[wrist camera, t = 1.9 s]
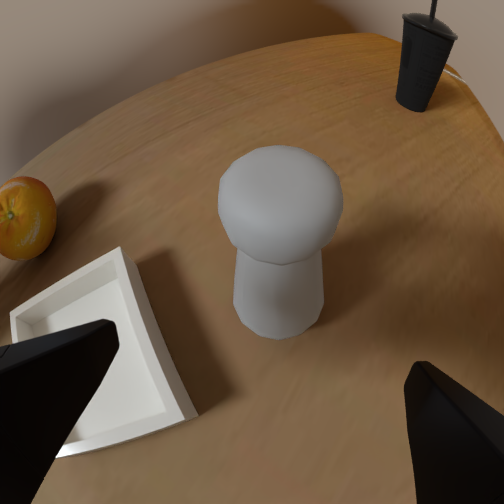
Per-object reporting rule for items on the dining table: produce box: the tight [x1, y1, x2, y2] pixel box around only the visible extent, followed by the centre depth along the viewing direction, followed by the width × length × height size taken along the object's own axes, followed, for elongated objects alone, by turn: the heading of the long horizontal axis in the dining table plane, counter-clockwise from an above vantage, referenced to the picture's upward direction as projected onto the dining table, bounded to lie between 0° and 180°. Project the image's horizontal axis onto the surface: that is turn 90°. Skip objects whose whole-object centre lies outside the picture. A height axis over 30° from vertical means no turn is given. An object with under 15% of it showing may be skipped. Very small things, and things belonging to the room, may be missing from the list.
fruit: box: [0, 177, 57, 261], centre depth 22 cm, size 8×8×8 cm
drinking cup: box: [396, 0, 458, 112], centre depth 23 cm, size 8×8×20 cm
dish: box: [10, 246, 199, 459], centre depth 17 cm, size 13×13×3 cm
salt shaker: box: [218, 145, 343, 340], centre depth 14 cm, size 6×6×13 cm
